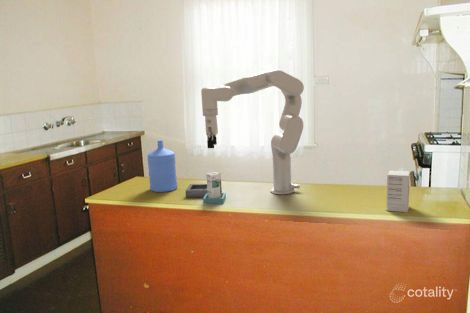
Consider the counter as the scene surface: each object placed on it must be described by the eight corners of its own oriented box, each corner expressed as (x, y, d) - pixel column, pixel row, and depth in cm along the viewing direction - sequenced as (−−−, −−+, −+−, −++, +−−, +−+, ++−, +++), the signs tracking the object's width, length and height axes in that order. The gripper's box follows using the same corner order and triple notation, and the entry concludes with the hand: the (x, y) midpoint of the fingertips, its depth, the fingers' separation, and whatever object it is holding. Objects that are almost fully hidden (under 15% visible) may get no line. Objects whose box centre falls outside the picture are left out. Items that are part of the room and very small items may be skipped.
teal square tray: (225, 197, 228) (225, 192, 227) (223, 203, 218) (223, 198, 217) (206, 197, 229) (206, 193, 228) (203, 203, 219) (203, 198, 218)
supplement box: (408, 212, 192) (409, 176, 189) (386, 210, 196) (387, 174, 192) (408, 206, 201) (410, 170, 197) (387, 204, 204) (388, 169, 201)
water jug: (168, 193, 240) (164, 143, 234) (144, 191, 246) (140, 143, 240) (182, 186, 254) (178, 139, 248) (159, 184, 260) (155, 138, 254)
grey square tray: (212, 190, 241) (212, 183, 241) (209, 197, 229) (208, 190, 228) (190, 191, 243) (190, 184, 242) (186, 197, 230) (185, 190, 230)
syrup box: (212, 202, 220) (210, 175, 217) (207, 199, 225) (206, 172, 222) (222, 200, 222) (221, 173, 219) (217, 198, 227) (216, 171, 224)
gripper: (215, 114, 206) (217, 149, 209) (219, 110, 223) (221, 143, 226) (199, 114, 206) (202, 149, 210) (205, 111, 223) (207, 143, 227)
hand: (212, 146), depth 218 cm, fingers open, 9 cm apart
